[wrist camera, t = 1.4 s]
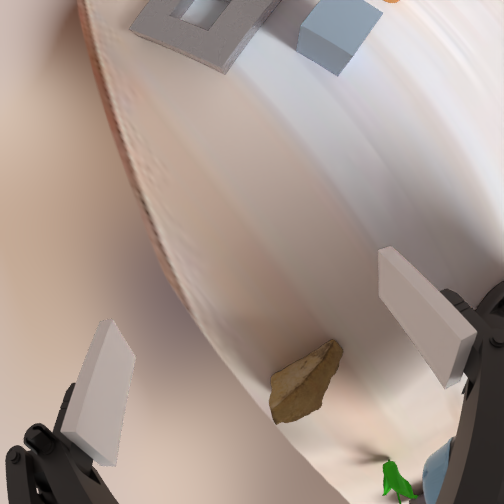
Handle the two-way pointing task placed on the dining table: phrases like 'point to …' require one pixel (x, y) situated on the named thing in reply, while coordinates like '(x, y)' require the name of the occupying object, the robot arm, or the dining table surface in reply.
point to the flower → (396, 481)
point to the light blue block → (336, 32)
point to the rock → (303, 384)
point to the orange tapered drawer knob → (391, 1)
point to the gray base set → (200, 40)
